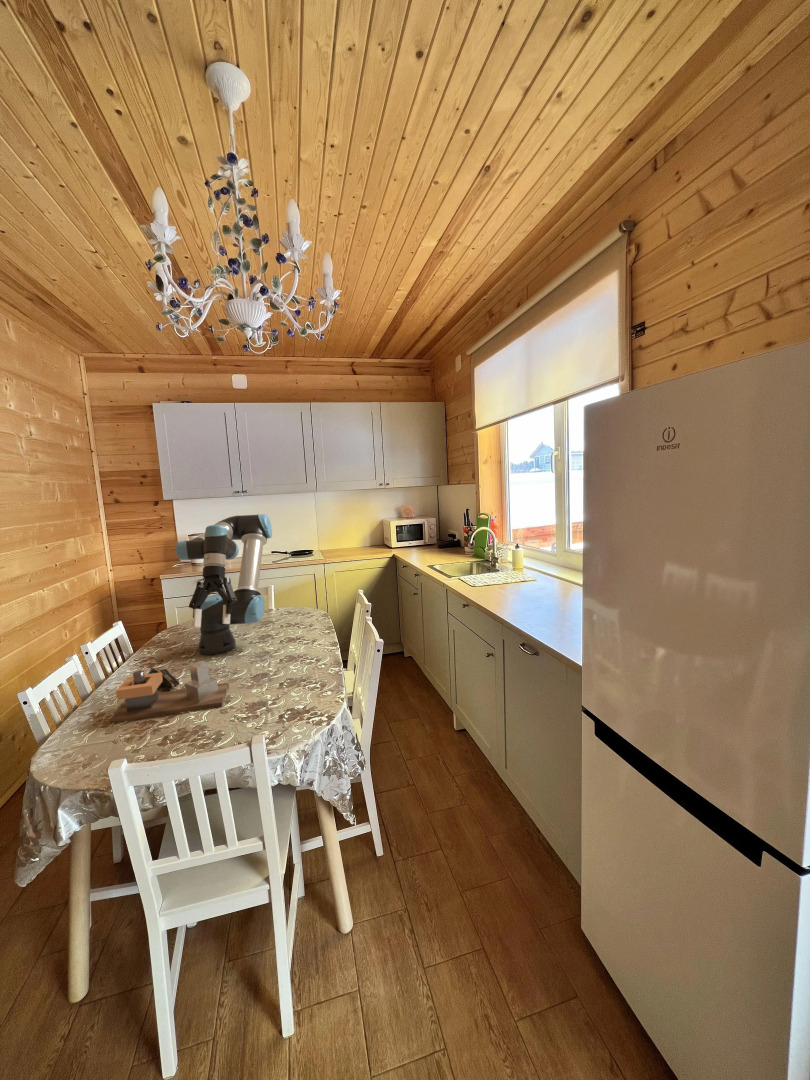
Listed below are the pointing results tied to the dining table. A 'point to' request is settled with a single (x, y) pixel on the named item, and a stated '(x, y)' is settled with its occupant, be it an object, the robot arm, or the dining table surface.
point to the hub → (201, 683)
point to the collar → (139, 686)
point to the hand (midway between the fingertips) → (211, 625)
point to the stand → (141, 701)
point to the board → (171, 705)
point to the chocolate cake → (166, 678)
